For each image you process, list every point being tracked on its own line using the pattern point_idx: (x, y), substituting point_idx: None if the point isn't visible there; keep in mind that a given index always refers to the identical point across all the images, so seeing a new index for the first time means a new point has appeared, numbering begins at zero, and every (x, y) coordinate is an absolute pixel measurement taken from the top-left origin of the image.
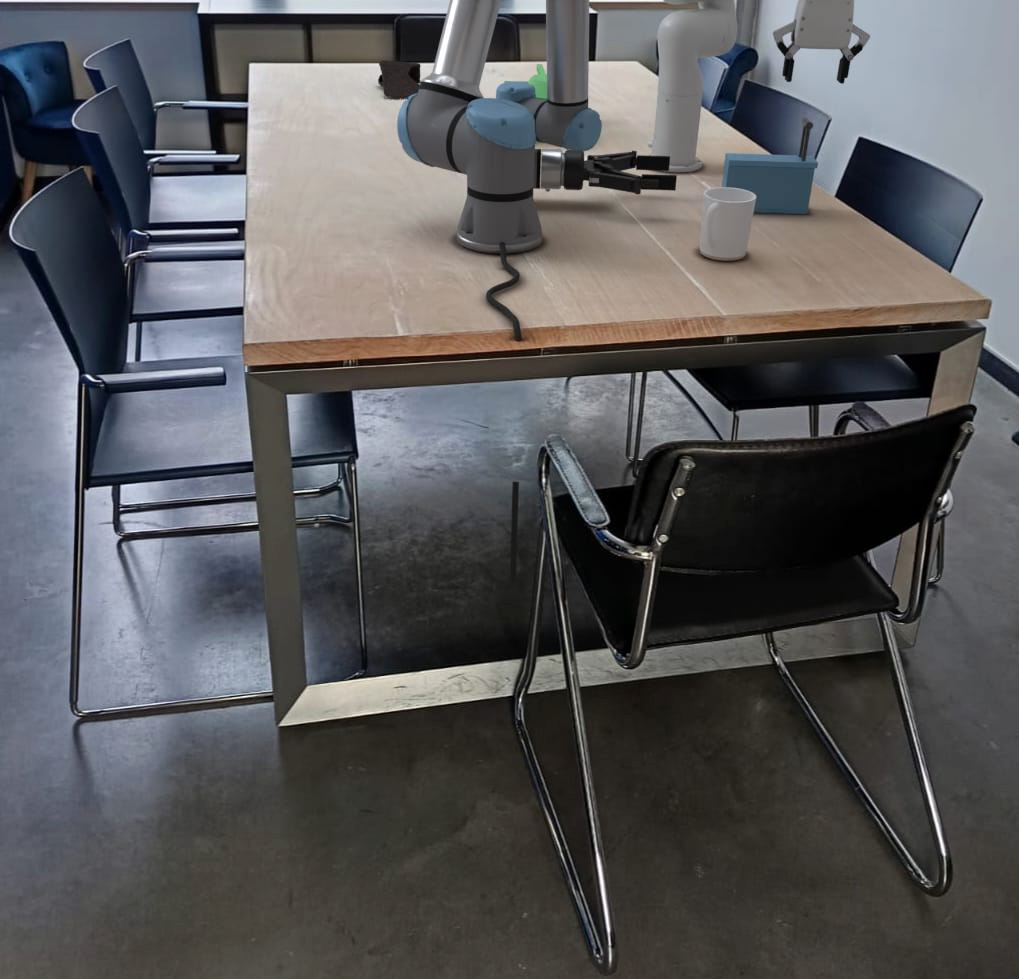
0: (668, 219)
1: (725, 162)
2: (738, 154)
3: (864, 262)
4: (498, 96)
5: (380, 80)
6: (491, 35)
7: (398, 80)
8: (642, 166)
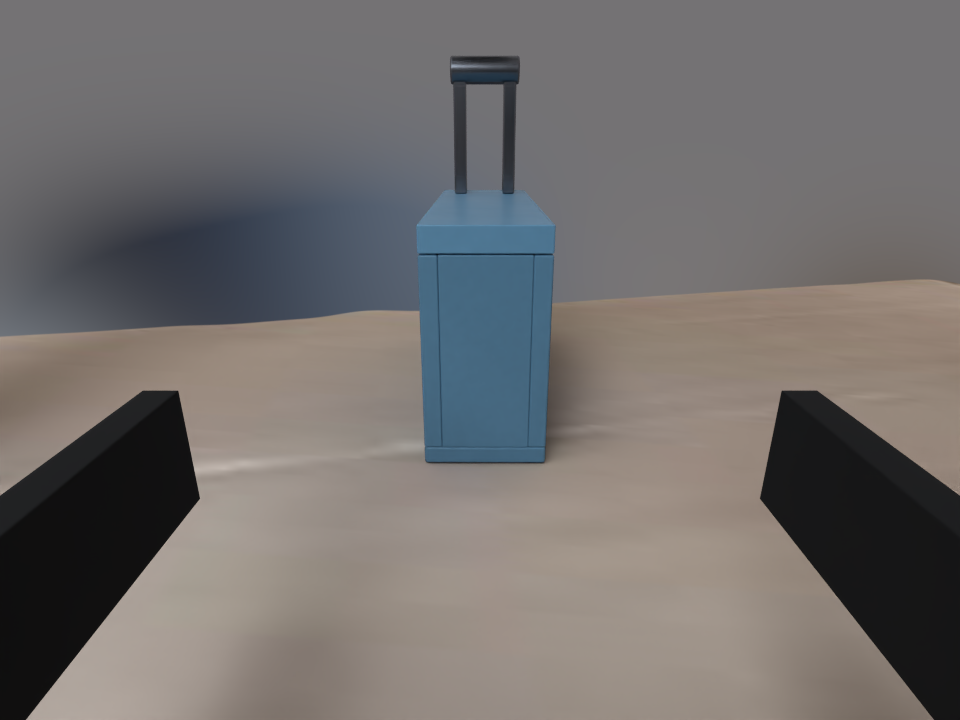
0: (825, 700)
1: (447, 266)
2: (440, 217)
3: (863, 321)
4: None
5: None
6: None
7: None
8: (14, 676)
